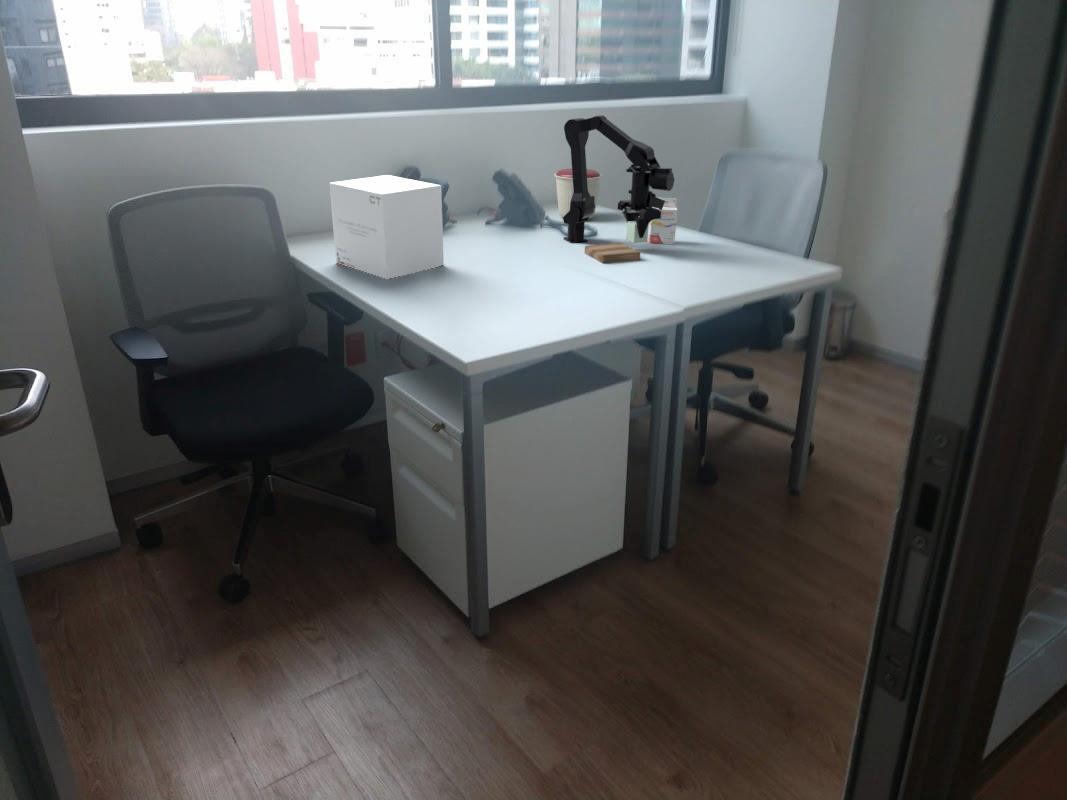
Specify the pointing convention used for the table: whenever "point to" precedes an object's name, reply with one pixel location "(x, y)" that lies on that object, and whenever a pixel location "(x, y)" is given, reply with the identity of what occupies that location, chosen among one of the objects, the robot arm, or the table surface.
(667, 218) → the ink cartridge box
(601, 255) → the walnut base
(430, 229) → the cube
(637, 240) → the sage block
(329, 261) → the table surface
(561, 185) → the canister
